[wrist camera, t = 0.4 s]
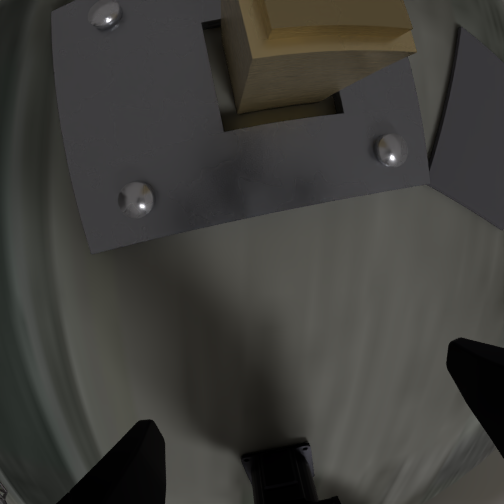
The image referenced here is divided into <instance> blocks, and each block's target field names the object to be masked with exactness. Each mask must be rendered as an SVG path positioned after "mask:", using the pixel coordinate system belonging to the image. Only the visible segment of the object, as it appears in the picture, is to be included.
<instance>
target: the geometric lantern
mask: <svg viewBox="0 0 504 504" xmlns="http://www.w3.org/2000/svg"><path fill="white" fill-rule="evenodd" d="M0 485H1V487H2V488H3V489H4V490H5V492H4V491H2V490H0V491H1V492H3V493H4V495H3V496H2V495H1V494H0V496H1V497H0V503H1V504H7V503H6V501H5V498H6V495H7V493H8V492H7V490H6V489H5V488H4V487H3V485H2V484H1V483H0ZM2 501H3V502H2Z"/></svg>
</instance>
